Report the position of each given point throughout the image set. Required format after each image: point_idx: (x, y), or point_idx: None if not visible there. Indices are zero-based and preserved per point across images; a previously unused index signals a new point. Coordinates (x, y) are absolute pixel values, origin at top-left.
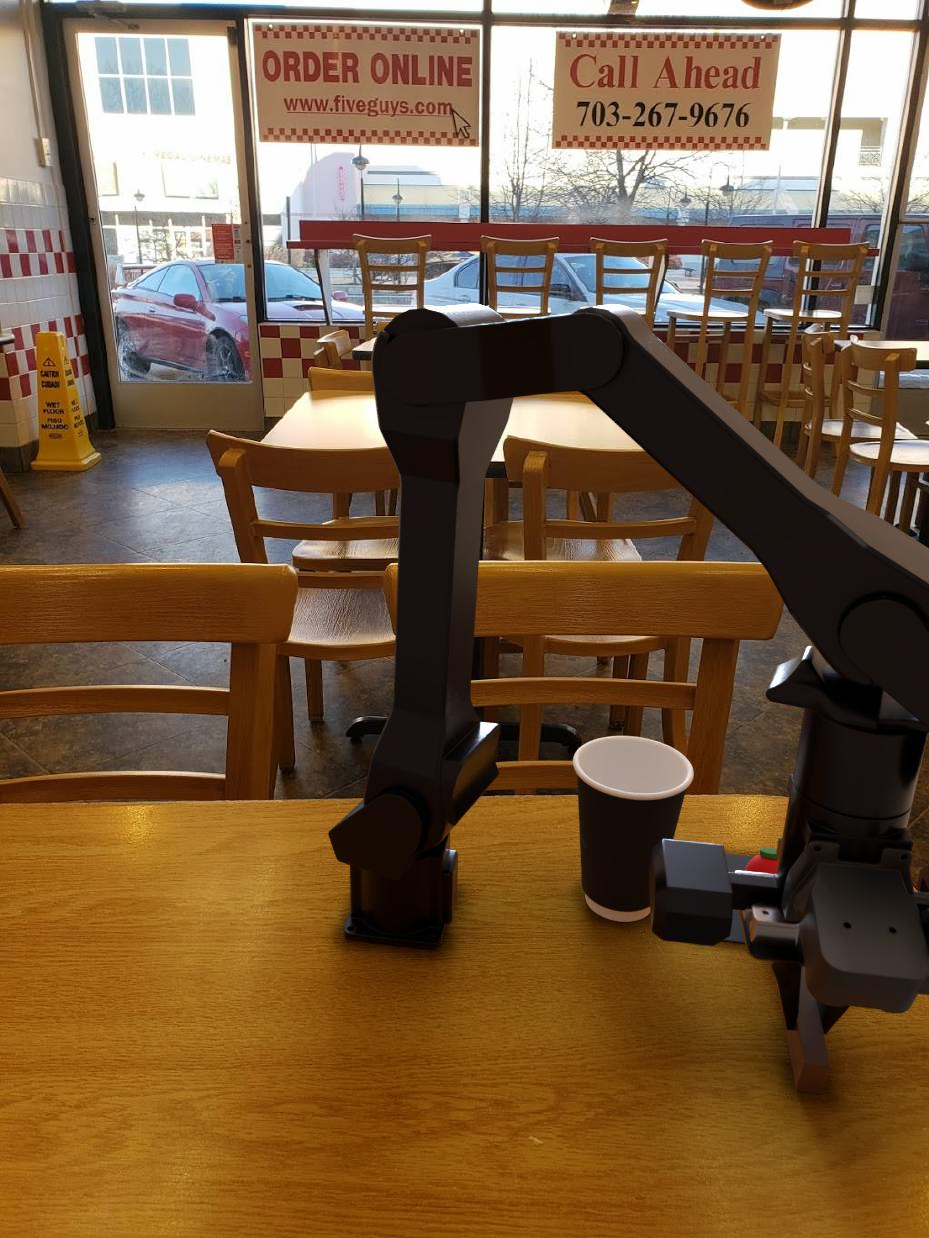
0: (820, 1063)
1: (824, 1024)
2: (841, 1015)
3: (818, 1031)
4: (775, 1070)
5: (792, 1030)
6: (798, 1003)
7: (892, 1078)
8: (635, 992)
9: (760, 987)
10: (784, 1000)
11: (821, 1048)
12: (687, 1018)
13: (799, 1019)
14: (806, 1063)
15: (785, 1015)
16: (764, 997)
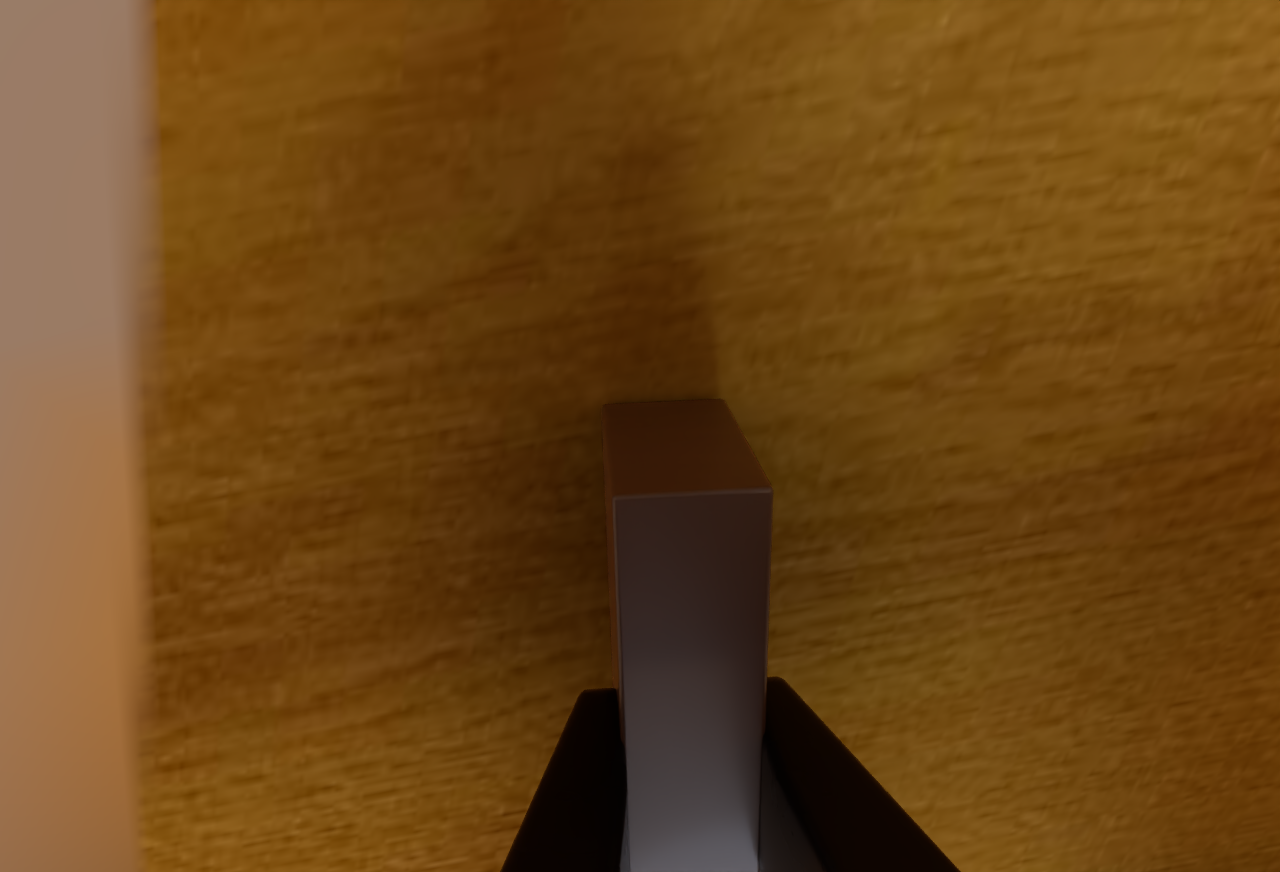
0: (673, 498)
1: (610, 742)
2: (527, 822)
3: (649, 695)
4: (790, 488)
5: None
6: (824, 851)
7: (257, 553)
8: (1257, 720)
9: None
10: (926, 855)
11: (653, 594)
12: (1094, 654)
13: (747, 743)
14: (759, 482)
15: (845, 751)
16: None
